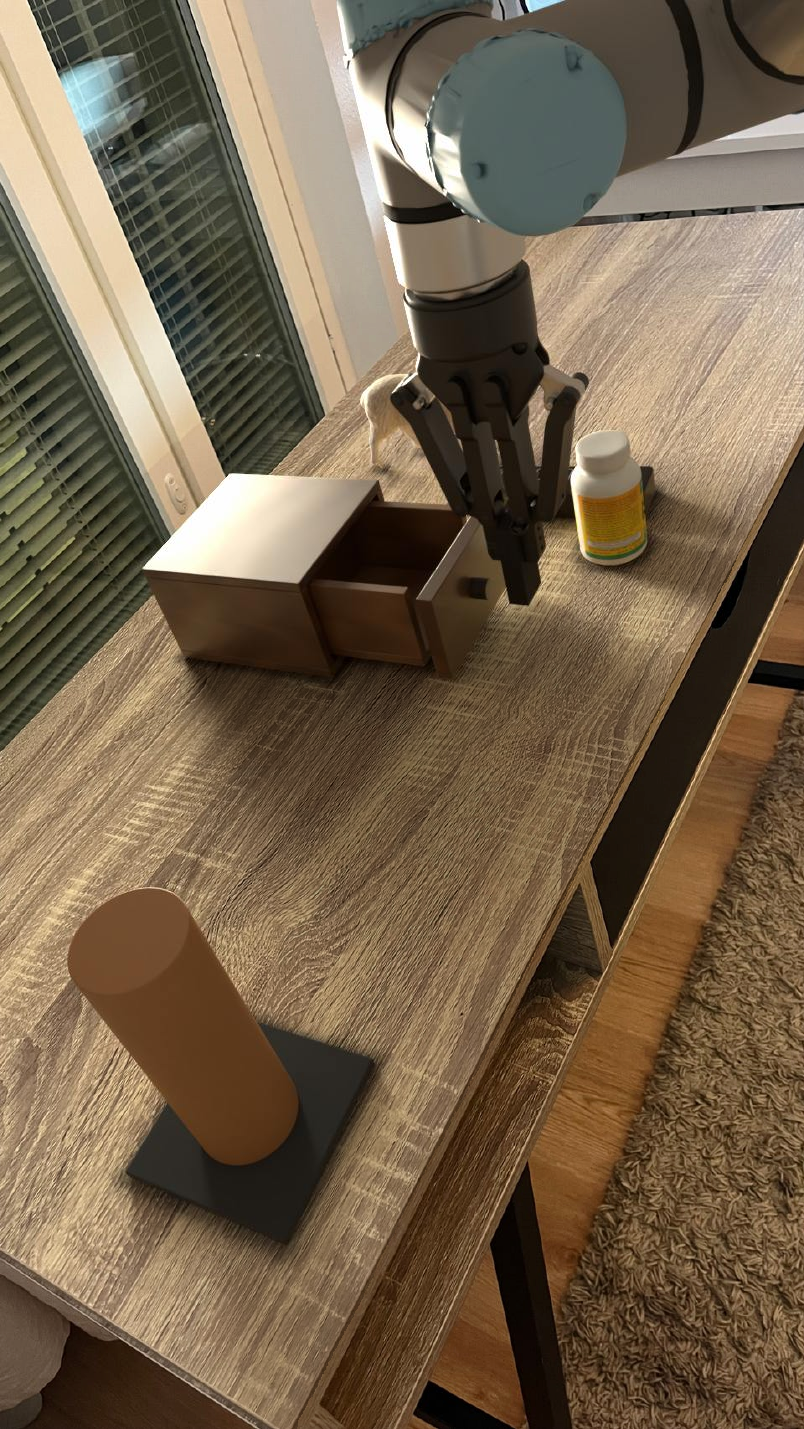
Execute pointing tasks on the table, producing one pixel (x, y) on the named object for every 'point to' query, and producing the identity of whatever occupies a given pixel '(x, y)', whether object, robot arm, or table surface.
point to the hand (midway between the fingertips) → (525, 593)
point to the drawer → (407, 586)
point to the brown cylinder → (184, 1023)
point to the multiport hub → (568, 504)
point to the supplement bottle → (608, 499)
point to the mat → (282, 1179)
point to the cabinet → (256, 570)
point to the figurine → (387, 414)
